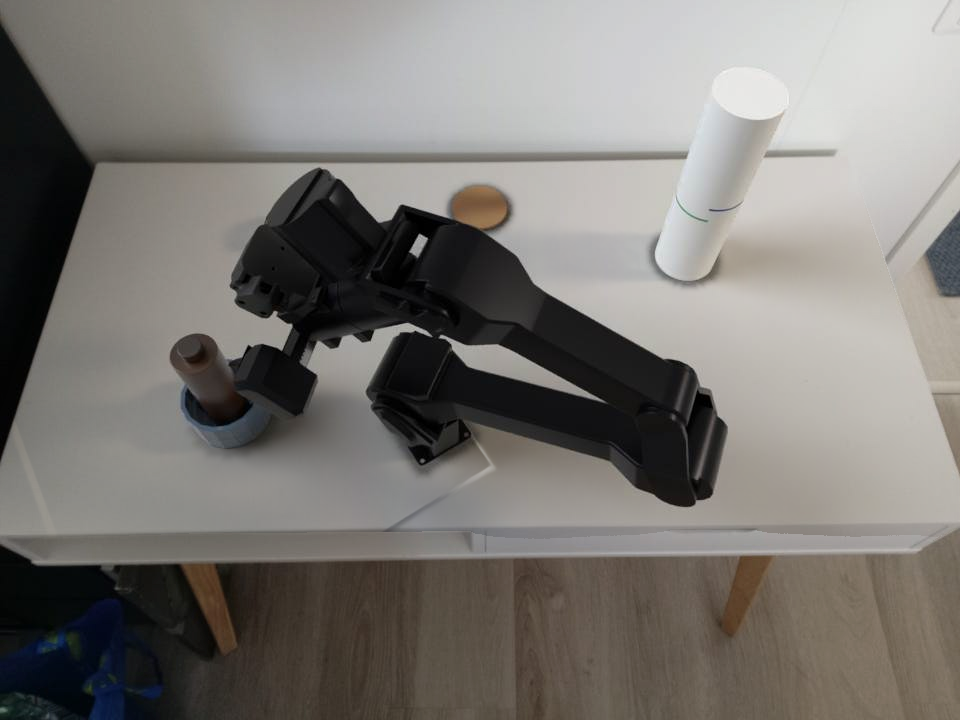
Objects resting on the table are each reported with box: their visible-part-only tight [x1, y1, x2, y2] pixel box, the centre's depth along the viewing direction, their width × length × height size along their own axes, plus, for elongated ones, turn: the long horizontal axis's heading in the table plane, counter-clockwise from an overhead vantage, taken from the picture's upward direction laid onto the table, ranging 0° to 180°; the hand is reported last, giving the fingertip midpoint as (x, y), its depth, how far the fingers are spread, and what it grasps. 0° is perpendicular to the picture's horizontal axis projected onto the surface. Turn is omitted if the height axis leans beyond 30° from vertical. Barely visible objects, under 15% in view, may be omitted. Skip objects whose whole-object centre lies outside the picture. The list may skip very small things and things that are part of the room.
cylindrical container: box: [654, 66, 791, 282], centre depth 79 cm, size 7×7×25 cm
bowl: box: [179, 358, 273, 449], centre depth 77 cm, size 8×8×5 cm
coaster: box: [451, 185, 508, 231], centre depth 94 cm, size 7×7×1 cm
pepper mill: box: [168, 332, 253, 427], centre depth 73 cm, size 4×4×14 cm
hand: (252, 324), depth 69 cm, fingers open, 9 cm apart
